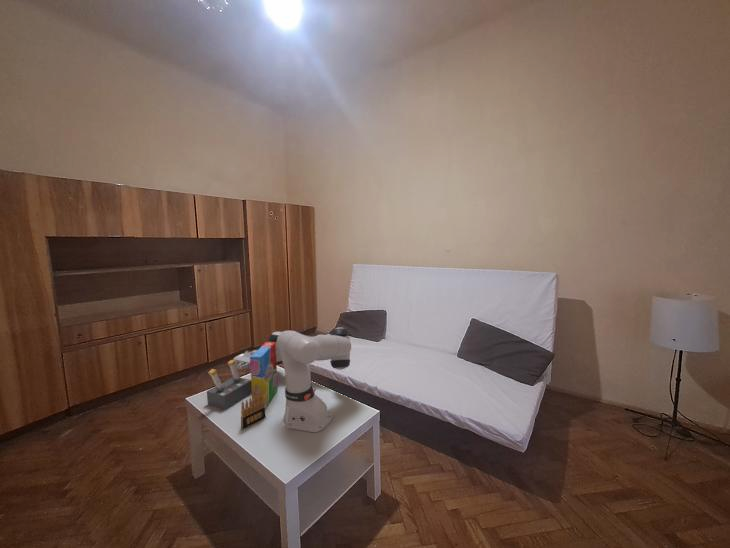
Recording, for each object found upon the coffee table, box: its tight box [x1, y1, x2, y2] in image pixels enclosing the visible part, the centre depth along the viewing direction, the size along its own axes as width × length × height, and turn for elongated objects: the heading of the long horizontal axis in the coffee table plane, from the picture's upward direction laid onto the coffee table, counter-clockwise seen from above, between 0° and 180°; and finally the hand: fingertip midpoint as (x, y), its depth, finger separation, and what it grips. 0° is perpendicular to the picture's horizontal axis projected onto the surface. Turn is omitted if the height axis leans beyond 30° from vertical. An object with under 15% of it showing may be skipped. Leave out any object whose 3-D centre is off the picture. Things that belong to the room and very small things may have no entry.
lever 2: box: [227, 359, 242, 382], centre depth 148 cm, size 3×2×12 cm
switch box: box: [206, 377, 252, 411], centre depth 146 cm, size 12×17×7 cm
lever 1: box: [207, 368, 225, 391], centre depth 139 cm, size 3×2×12 cm
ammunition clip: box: [240, 393, 267, 430], centre depth 126 cm, size 11×2×12 cm, turn 140°
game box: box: [249, 341, 279, 410], centre depth 143 cm, size 21×6×27 cm, turn 179°
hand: (238, 368), depth 151 cm, fingers closed
